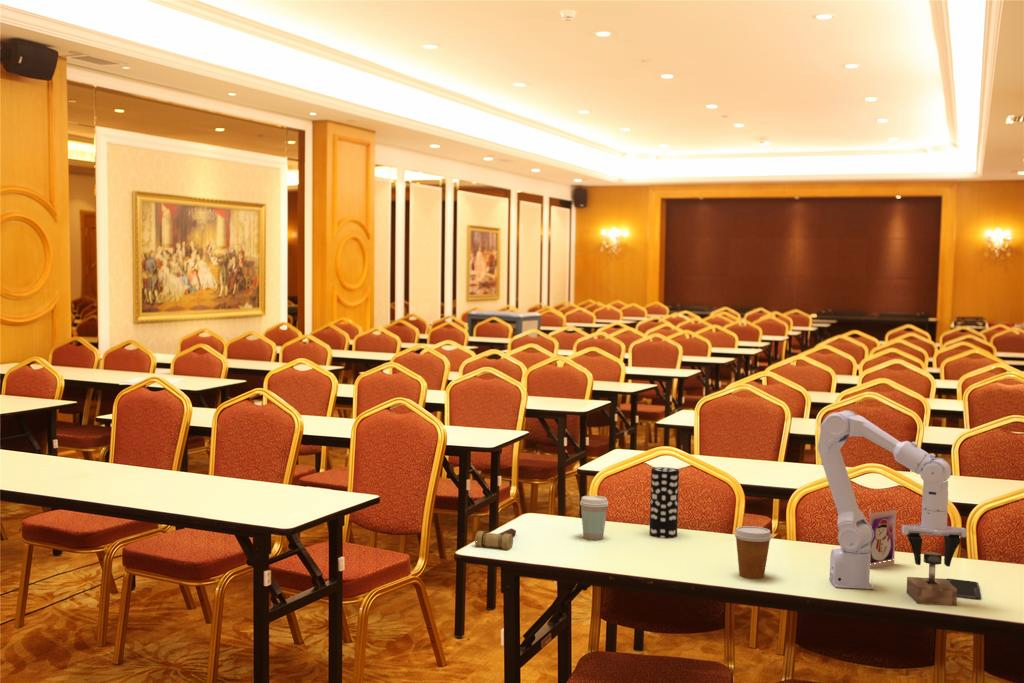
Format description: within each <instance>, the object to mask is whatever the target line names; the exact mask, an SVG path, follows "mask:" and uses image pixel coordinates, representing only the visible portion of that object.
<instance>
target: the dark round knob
mask: <svg viewBox="0 0 1024 683" xmlns="http://www.w3.org/2000/svg"><path fill="white" fill-rule="evenodd" d="M942 556H943V555H942V554H941V553H938V552H932V551H926V552H925V551H924V552H923V562H924V563H926V564H928V578H929V584H935V578H936V565H941V564H942Z"/></svg>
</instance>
